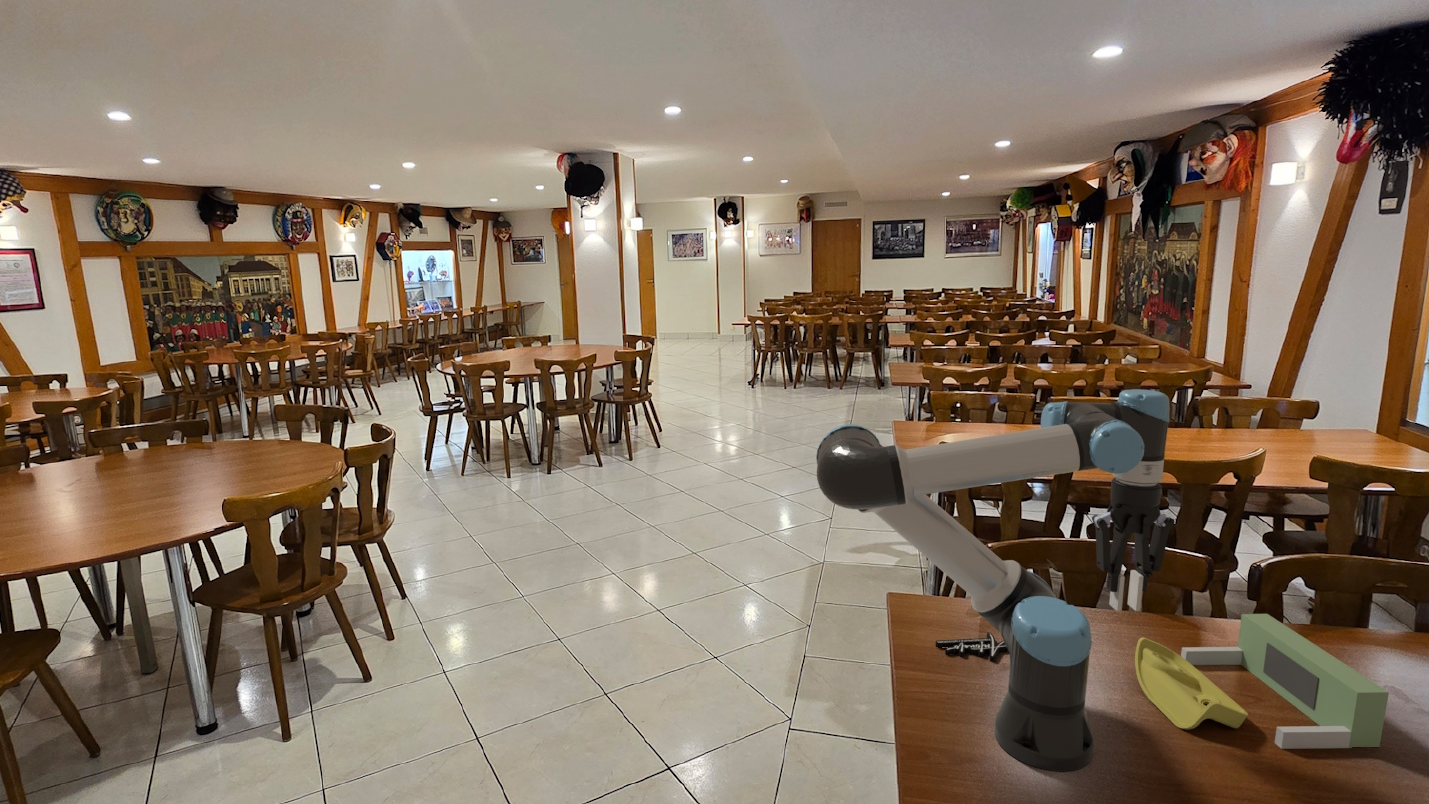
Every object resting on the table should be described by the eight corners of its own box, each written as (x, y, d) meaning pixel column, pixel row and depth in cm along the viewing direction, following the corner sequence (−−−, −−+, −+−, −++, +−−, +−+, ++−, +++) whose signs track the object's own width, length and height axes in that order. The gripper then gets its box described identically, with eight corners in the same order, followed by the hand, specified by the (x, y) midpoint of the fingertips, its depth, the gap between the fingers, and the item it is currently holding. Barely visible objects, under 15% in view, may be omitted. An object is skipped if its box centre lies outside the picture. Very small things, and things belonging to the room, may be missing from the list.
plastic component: (1254, 718, 126) (1209, 699, 124) (1230, 752, 128) (1184, 734, 126) (1175, 650, 145) (1135, 633, 143) (1155, 681, 147) (1114, 664, 145)
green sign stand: (1281, 748, 122) (1289, 693, 120) (1180, 661, 148) (1185, 614, 146) (1379, 747, 122) (1388, 692, 120) (1260, 660, 148) (1267, 613, 146)
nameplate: (1056, 629, 159) (1081, 653, 150) (1055, 635, 160) (1081, 660, 150) (931, 635, 158) (948, 660, 148) (930, 641, 158) (948, 667, 148)
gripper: (1102, 487, 123) (1090, 618, 128) (1196, 486, 123) (1181, 617, 128) (1080, 474, 131) (1070, 598, 135) (1169, 473, 131) (1156, 597, 135)
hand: (1124, 607), depth 132 cm, fingers open, 3 cm apart
